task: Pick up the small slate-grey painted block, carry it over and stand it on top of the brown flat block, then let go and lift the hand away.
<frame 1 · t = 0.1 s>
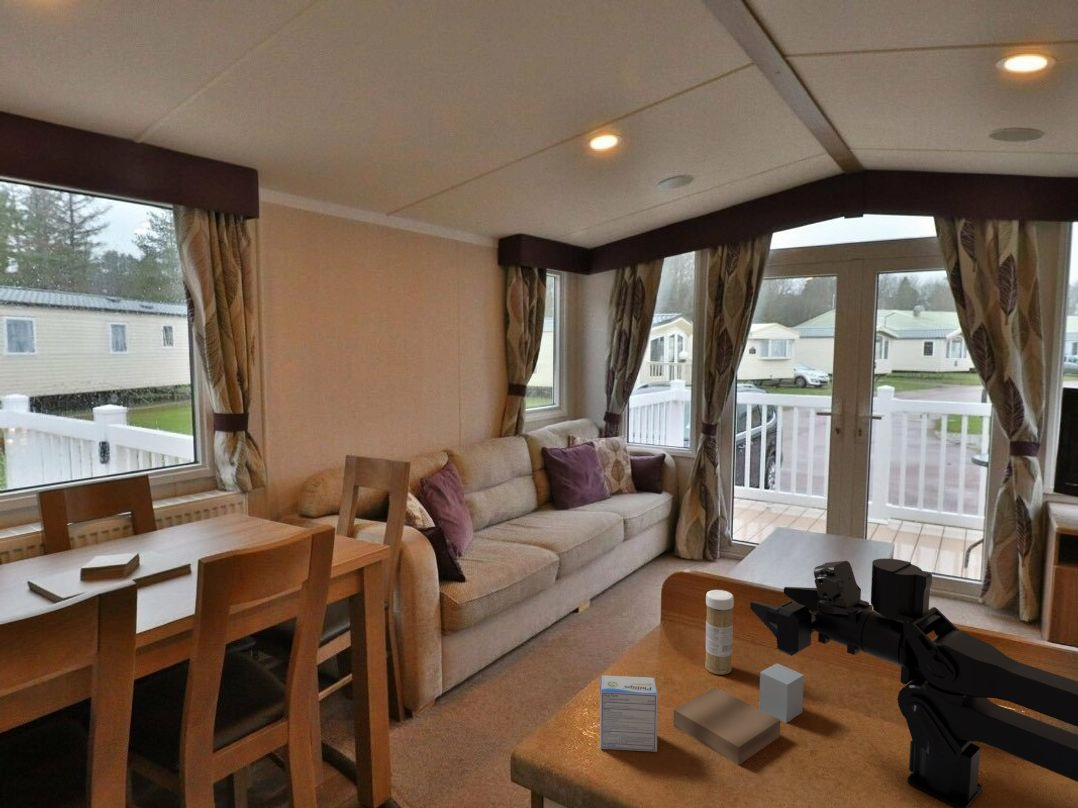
hand: (767, 597, 98), 17 cm above the table, tool horizontal, fingers open, 9 cm apart
brown flat block: (725, 734, 91), on the table
sprinkles bottle: (717, 670, 108), on the table
medicine box: (627, 743, 89), on the table
grey block: (780, 711, 96), on the table
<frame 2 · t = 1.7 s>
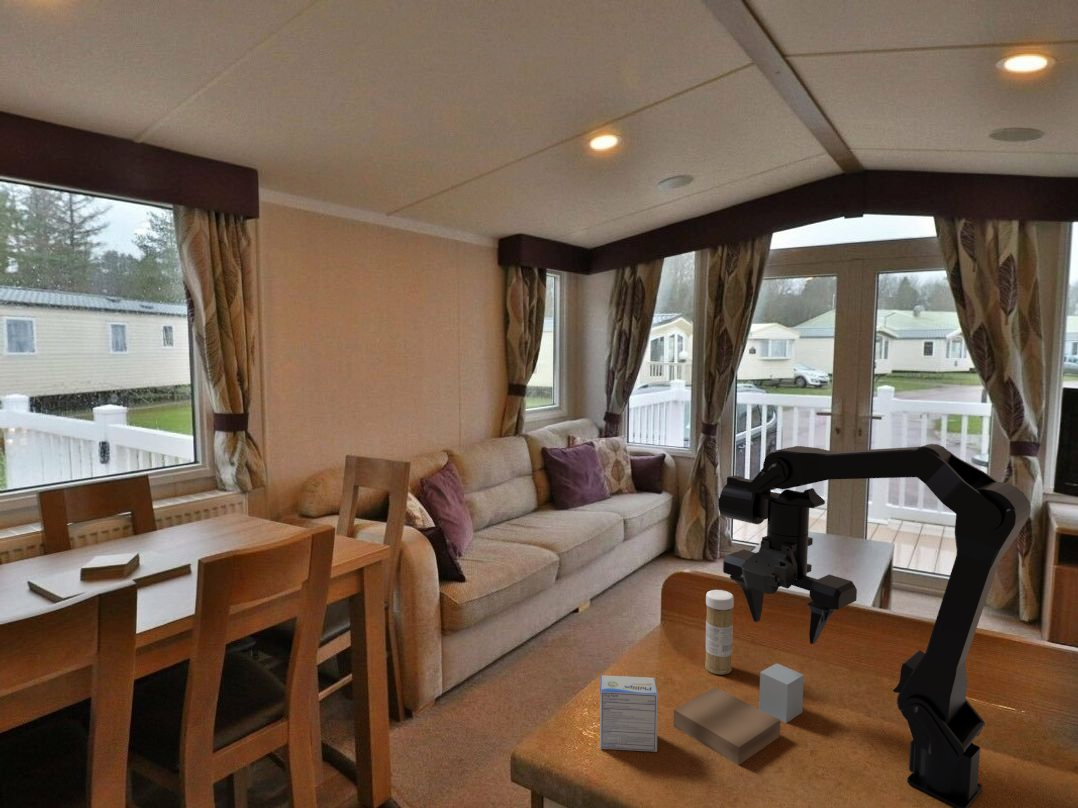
hand: (783, 631, 95), 13 cm above the table, tool pointing down, fingers open, 9 cm apart
nothing on the table moved.
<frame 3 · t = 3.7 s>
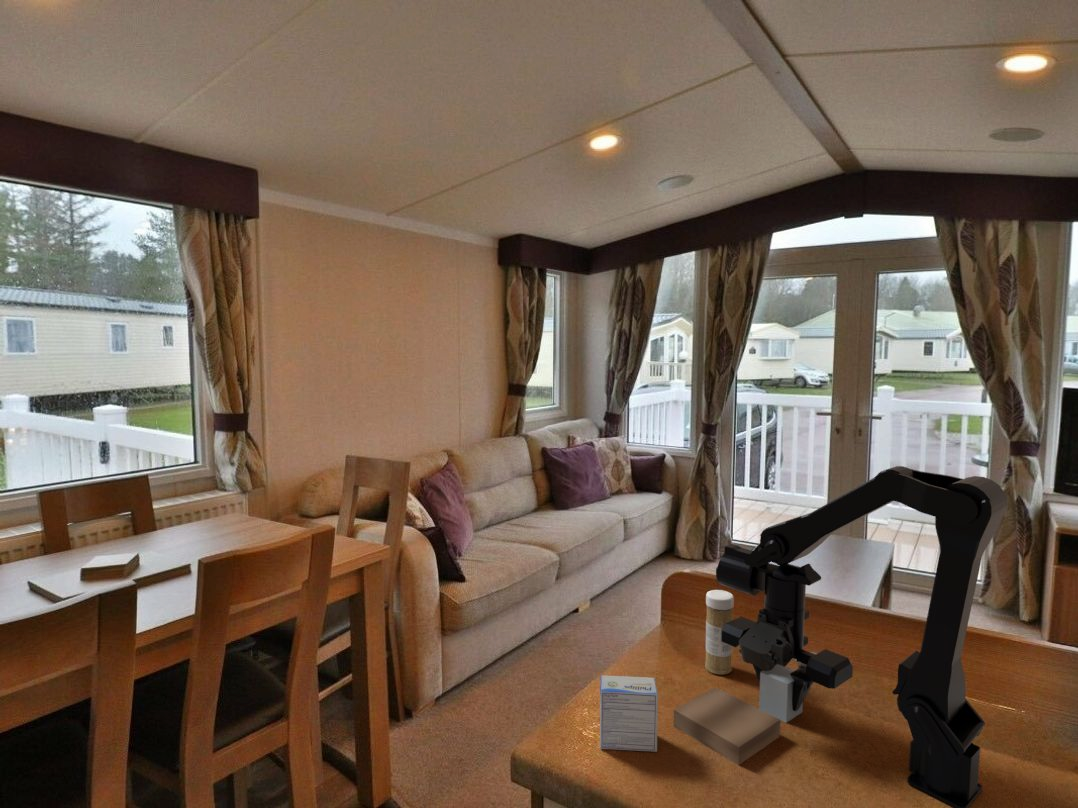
hand: (780, 703, 96), 1 cm above the table, tool pointing down, fingers closed on grey block, 4 cm apart
grey block: (780, 710, 96), on the table, touching gripper
everything else where it was.
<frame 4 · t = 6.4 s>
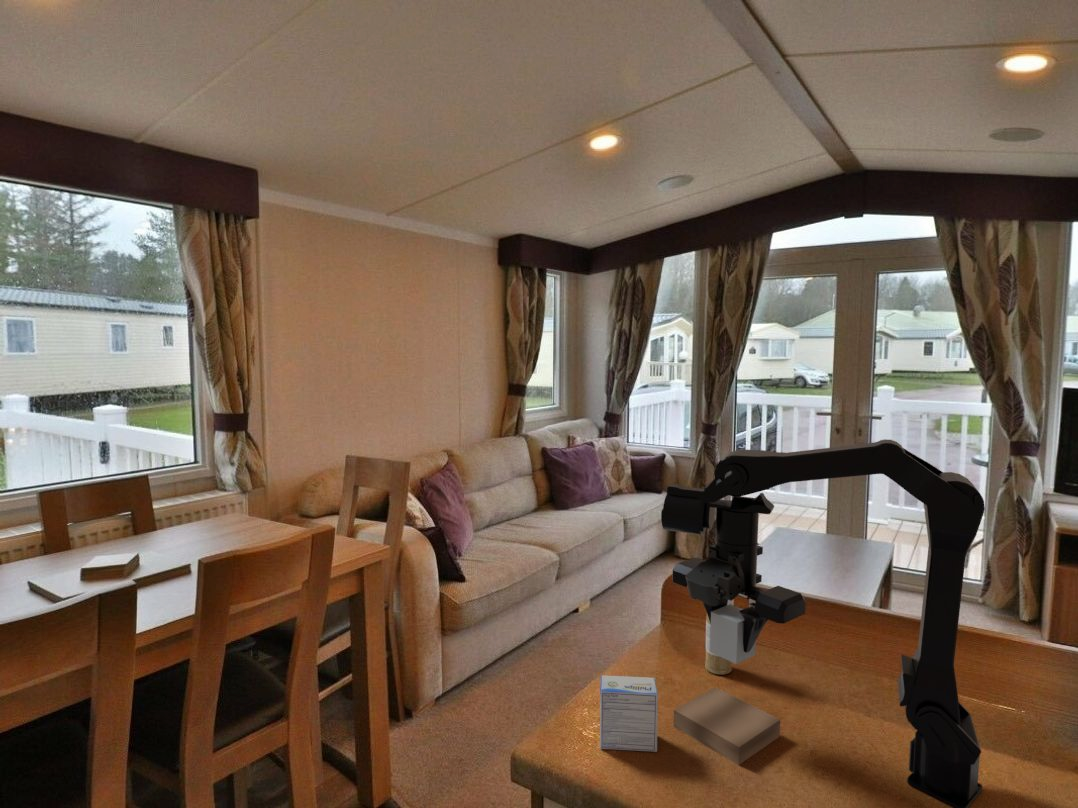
hand: (732, 645, 90), 13 cm above the table, tool pointing down, fingers closed on grey block, 4 cm apart
grey block: (732, 653, 91), point 11 cm above the table, touching gripper
everything else where it was.
when the fingers open (5 cm above the table, at t = 9.0 s): grey block drops 2 cm, resting on brown flat block.
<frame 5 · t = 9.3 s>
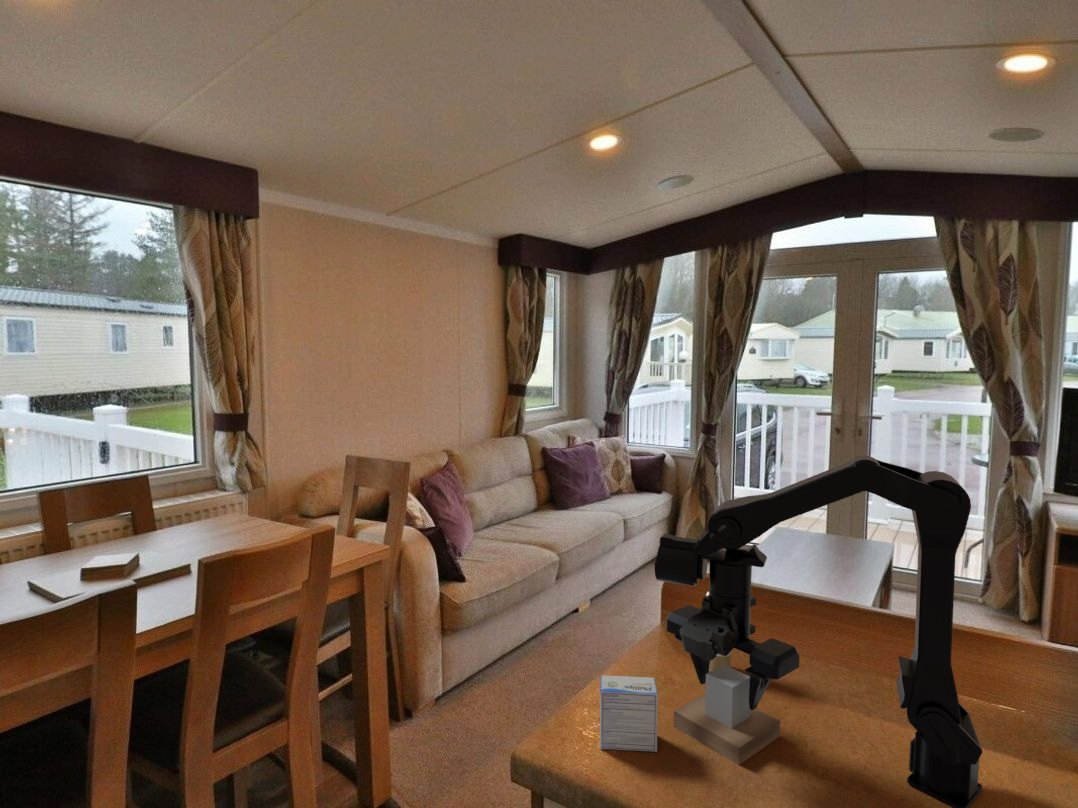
hand: (727, 695, 90), 5 cm above the table, tool pointing down, fingers open, 8 cm apart
brown flat block: (725, 735, 91), on the table, touching grey block
grey block: (727, 715, 91), point 2 cm above the table, touching brown flat block
everything else where it was.
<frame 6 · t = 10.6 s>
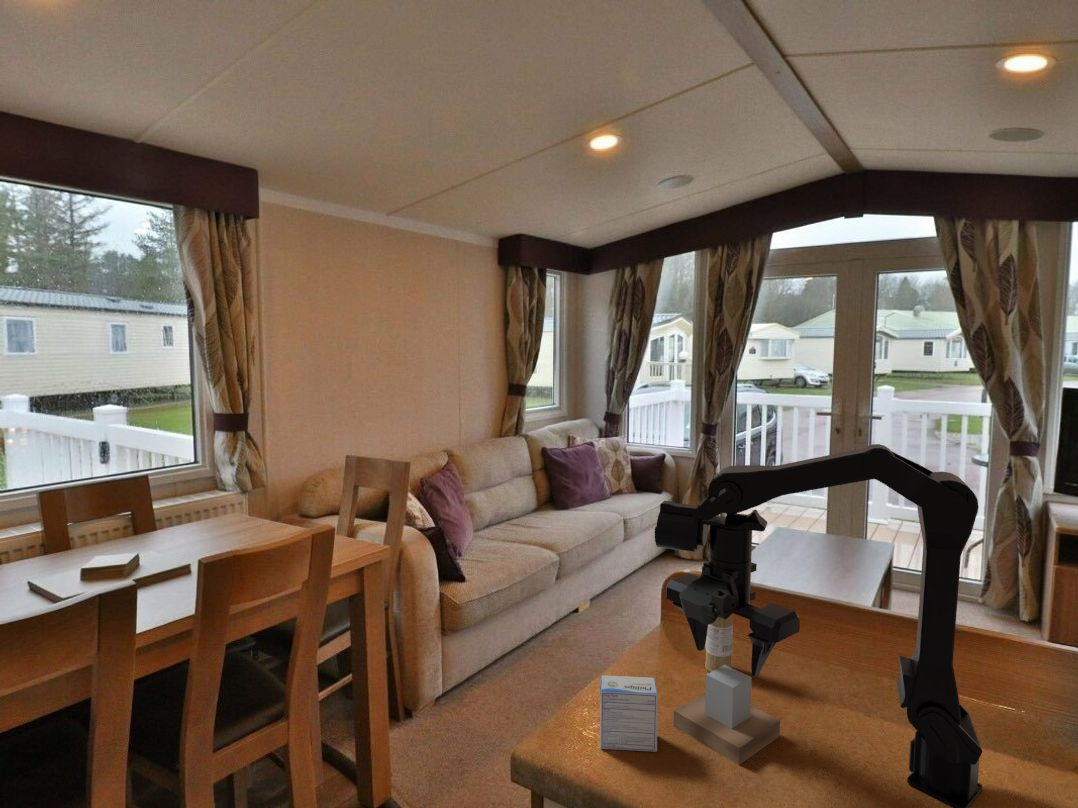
hand: (726, 662, 90), 10 cm above the table, tool pointing down, fingers open, 9 cm apart
brown flat block: (725, 735, 91), on the table
grey block: (727, 715, 91), point 2 cm above the table
everything else where it was.
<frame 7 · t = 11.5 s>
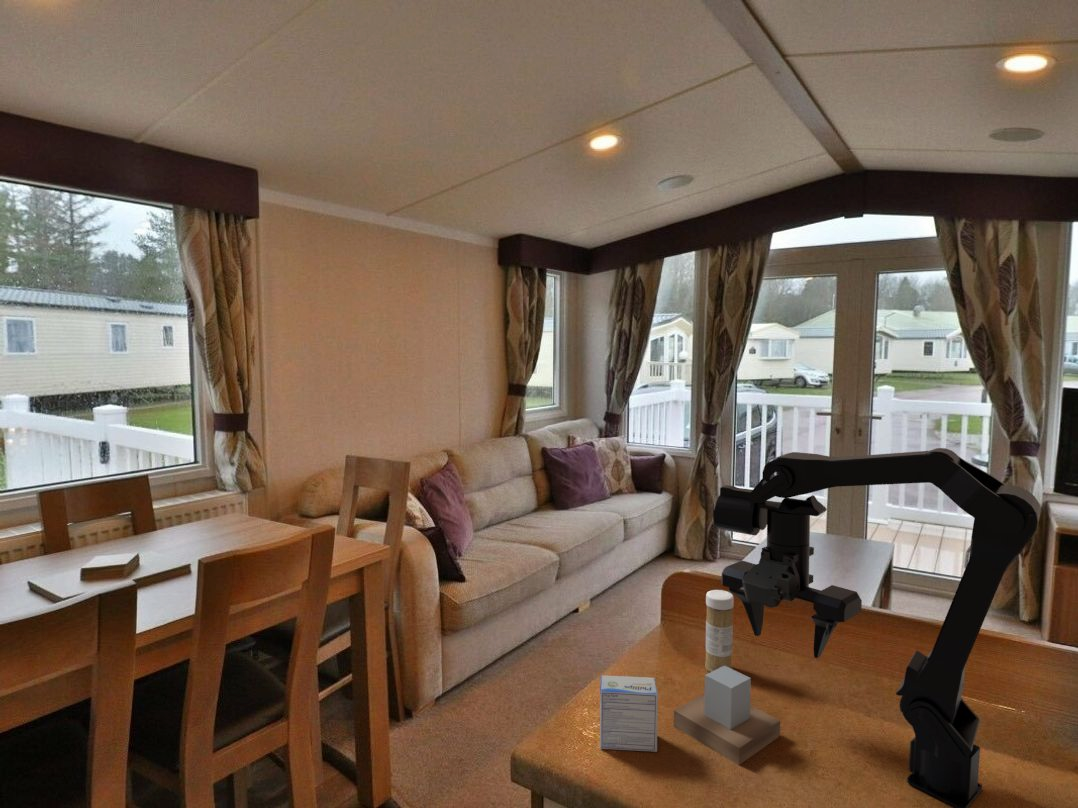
hand: (786, 645, 91), 12 cm above the table, tool pointing down, fingers open, 9 cm apart
brown flat block: (725, 735, 91), on the table, touching grey block
grey block: (726, 716, 90), point 2 cm above the table, touching brown flat block
everything else where it was.
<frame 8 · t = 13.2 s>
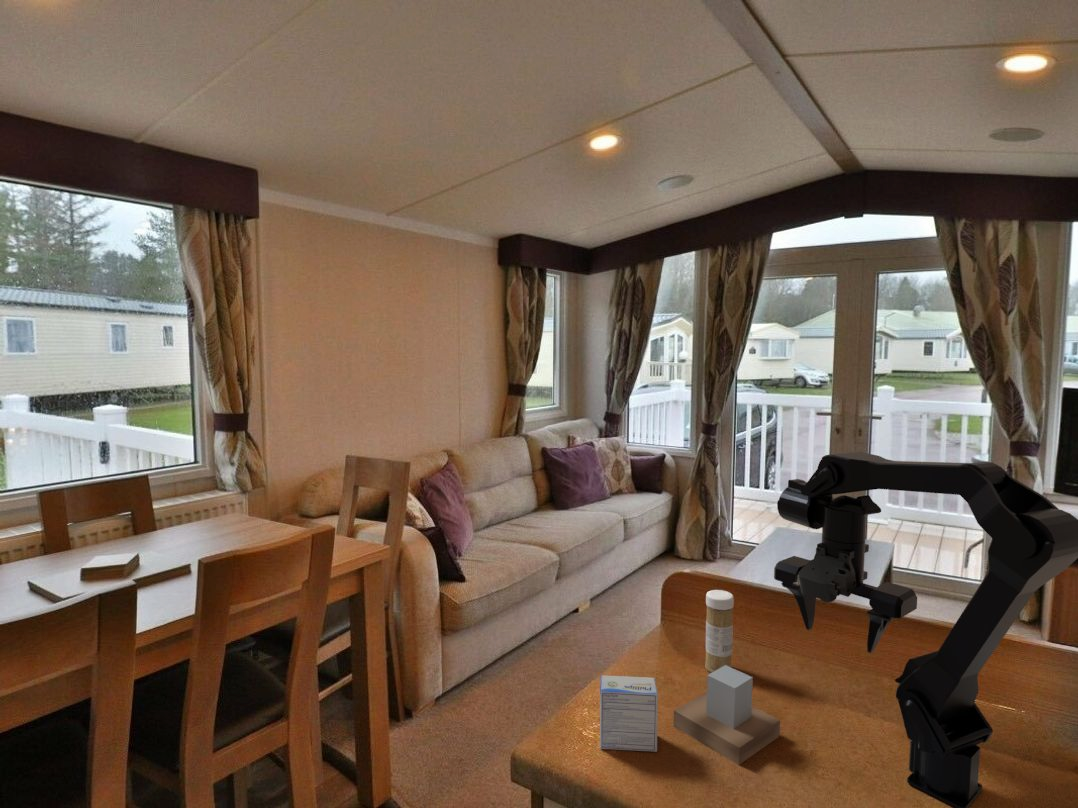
hand: (838, 640, 93), 12 cm above the table, tool pointing down, fingers open, 9 cm apart
nothing on the table moved.
at the end: grey block inside the target area on the brown flat block (0.3 cm from its centre), point 3.0 cm above the brown flat block's base; grey block touching brown flat block; grey block tilted 1° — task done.
